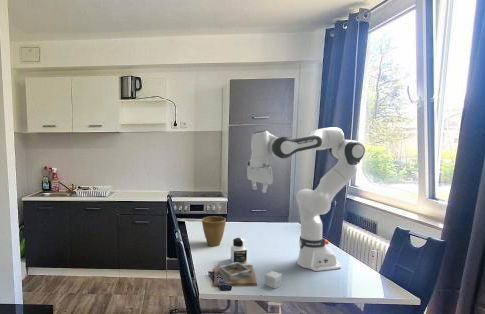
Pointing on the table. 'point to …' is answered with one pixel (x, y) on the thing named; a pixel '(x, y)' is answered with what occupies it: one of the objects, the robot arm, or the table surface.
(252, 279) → the pocket board
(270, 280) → the small box
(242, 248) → the medicine bottle
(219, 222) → the plant pot
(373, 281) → the table surface
